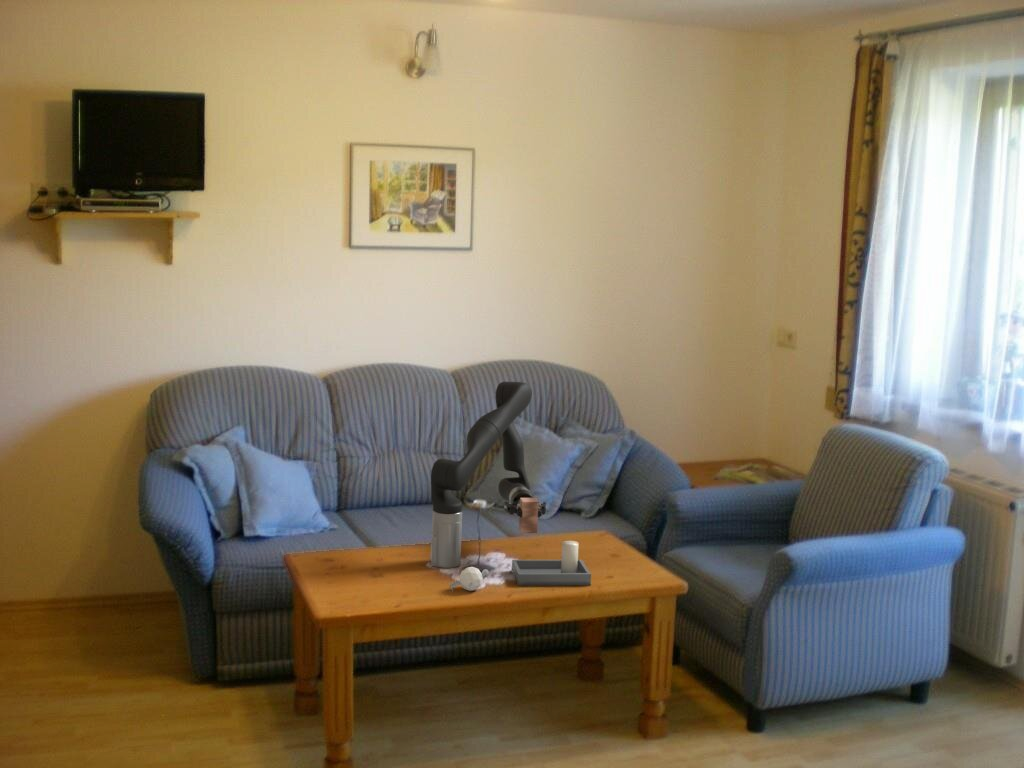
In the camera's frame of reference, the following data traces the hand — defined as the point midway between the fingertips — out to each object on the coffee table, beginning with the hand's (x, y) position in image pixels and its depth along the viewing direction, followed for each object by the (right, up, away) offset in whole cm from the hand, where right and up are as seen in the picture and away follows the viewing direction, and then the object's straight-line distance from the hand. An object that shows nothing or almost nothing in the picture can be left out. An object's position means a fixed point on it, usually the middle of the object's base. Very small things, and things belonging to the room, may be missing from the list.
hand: (530, 514), depth 340 cm
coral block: (-1, -6, +3) cm, 7 cm away
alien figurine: (-18, -20, -17) cm, 32 cm away
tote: (+6, -19, -3) cm, 20 cm away
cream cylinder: (+12, -18, -3) cm, 22 cm away
